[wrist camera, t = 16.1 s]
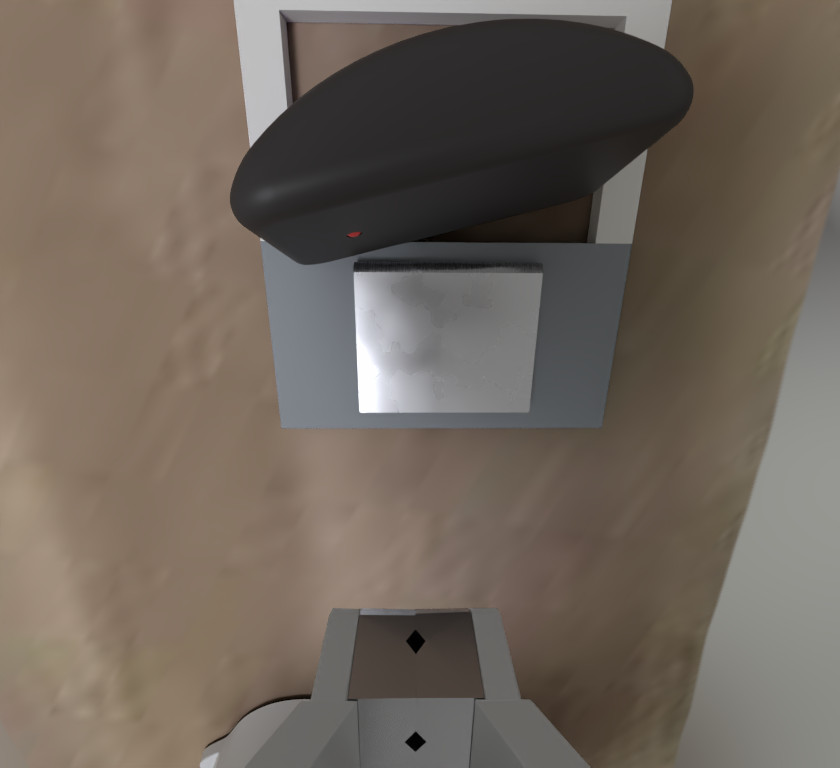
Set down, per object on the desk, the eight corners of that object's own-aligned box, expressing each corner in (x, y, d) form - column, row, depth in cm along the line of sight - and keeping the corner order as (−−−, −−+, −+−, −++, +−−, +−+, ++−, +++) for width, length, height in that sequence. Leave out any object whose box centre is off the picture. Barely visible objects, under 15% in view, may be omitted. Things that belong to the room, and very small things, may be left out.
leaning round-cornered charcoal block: (576, 113, 22) (696, -53, 13) (594, 201, 23) (721, 102, 13) (277, 188, 22) (180, 78, 13) (300, 274, 23) (223, 227, 14)
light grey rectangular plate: (524, 406, 26) (529, 412, 25) (361, 406, 26) (359, 412, 25) (538, 262, 23) (544, 263, 22) (355, 261, 23) (353, 262, 22)
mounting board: (594, 420, 28) (601, 428, 27) (286, 420, 27) (281, 428, 26) (661, -10, 20) (676, -25, 19) (240, -18, 20) (230, -33, 19)
